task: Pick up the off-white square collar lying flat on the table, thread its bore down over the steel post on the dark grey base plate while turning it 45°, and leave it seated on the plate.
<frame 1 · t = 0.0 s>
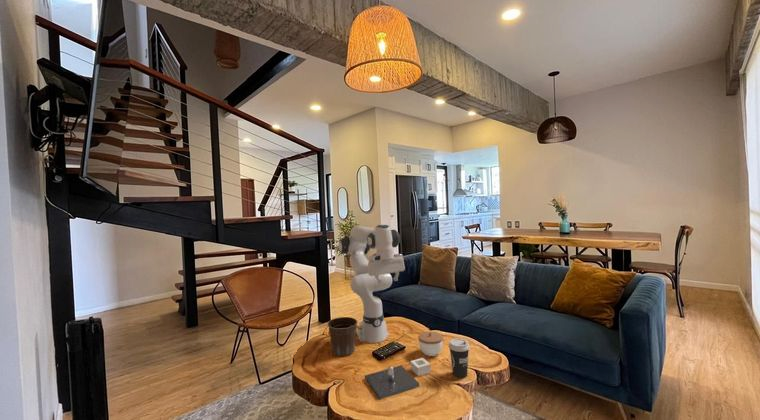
hand: (387, 282, 168), 39 cm above the table, tool pointing down, fingers open, 8 cm apart
base plate: (391, 382, 145), on the table
lidded bowl: (431, 353, 169), on the table
collar: (420, 370, 153), on the table
coffee cup: (460, 374, 149), on the table
plant pot: (344, 351, 176), on the table
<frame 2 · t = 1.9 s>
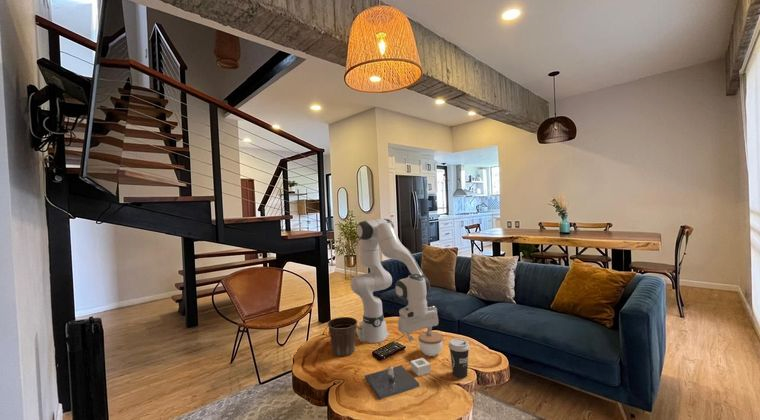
hand: (419, 338, 152), 16 cm above the table, tool pointing down, fingers open, 8 cm apart
nothing on the table moved.
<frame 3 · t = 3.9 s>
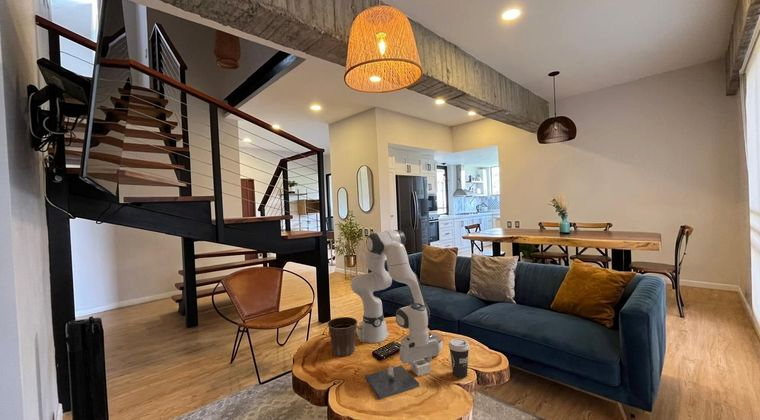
hand: (420, 367, 153), 2 cm above the table, tool pointing down, fingers closed on collar, 7 cm apart
collar: (420, 370, 153), on the table, touching gripper
everything else where it was.
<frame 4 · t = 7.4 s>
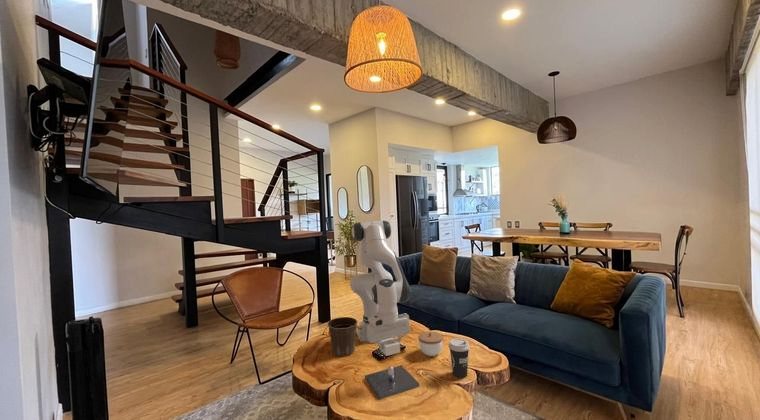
hand: (389, 347, 144), 16 cm above the table, tool pointing down, fingers closed on collar, 7 cm apart
collar: (389, 350, 144), point 15 cm above the table, touching gripper
everything else where it was.
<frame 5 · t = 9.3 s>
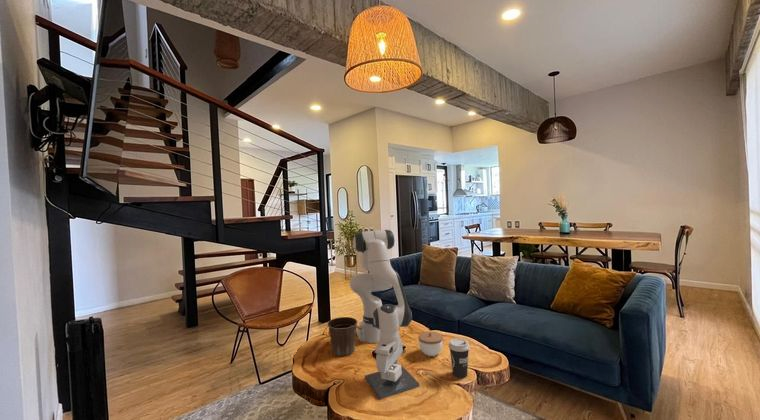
hand: (391, 372, 144), 5 cm above the table, tool pointing down, fingers closed on collar, 7 cm apart
collar: (391, 376, 144), point 3 cm above the table, touching gripper
everything else where it was.
when the fingers open (3 cm above the table, at t = 10.9 s): collar stays where it is, resting on base plate.
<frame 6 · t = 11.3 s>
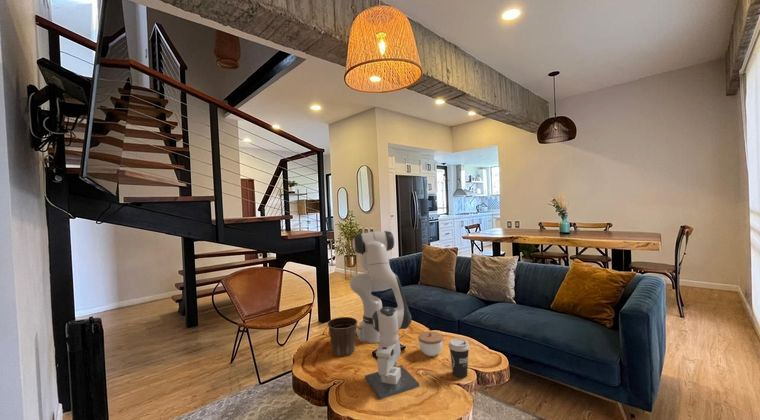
hand: (390, 374, 144), 3 cm above the table, tool pointing down, fingers open, 8 cm apart
collar: (391, 379, 145), point 1 cm above the table, touching base plate
everything else where it was.
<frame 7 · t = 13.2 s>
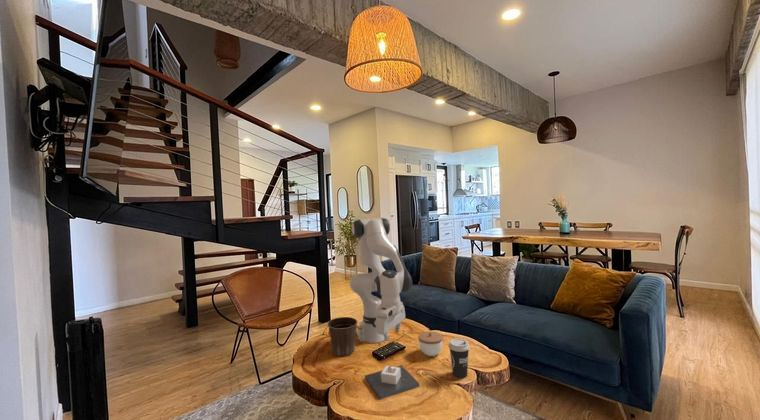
hand: (392, 335, 148), 19 cm above the table, tool pointing down, fingers open, 8 cm apart
nothing on the table moved.
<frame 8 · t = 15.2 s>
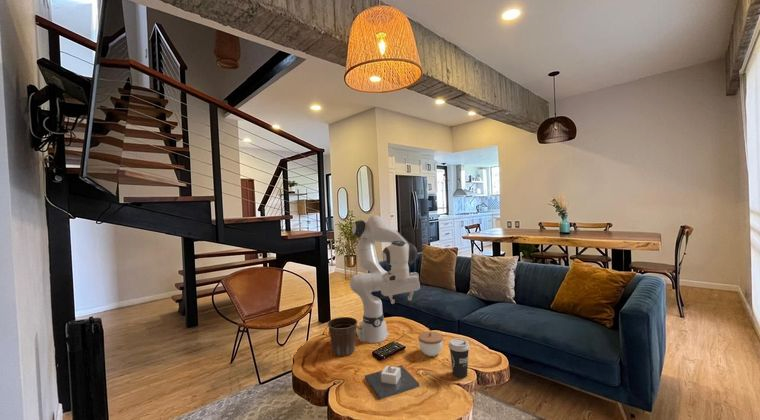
hand: (401, 301, 159), 31 cm above the table, tool pointing down, fingers open, 8 cm apart
nothing on the table moved.
at the end: collar 0.1 cm off-centre on the base plate, point 1.5 cm above the base plate's base; collar tilted 0°; the gripper is holding nothing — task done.
